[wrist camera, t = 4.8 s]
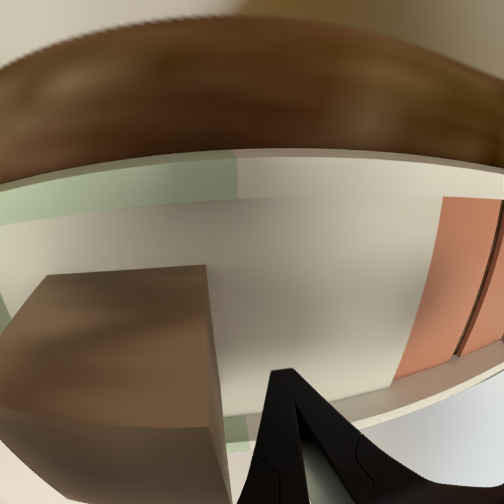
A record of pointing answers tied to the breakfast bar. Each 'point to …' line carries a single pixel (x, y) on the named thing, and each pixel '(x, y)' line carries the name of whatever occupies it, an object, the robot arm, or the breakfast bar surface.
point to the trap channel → (291, 265)
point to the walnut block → (117, 387)
